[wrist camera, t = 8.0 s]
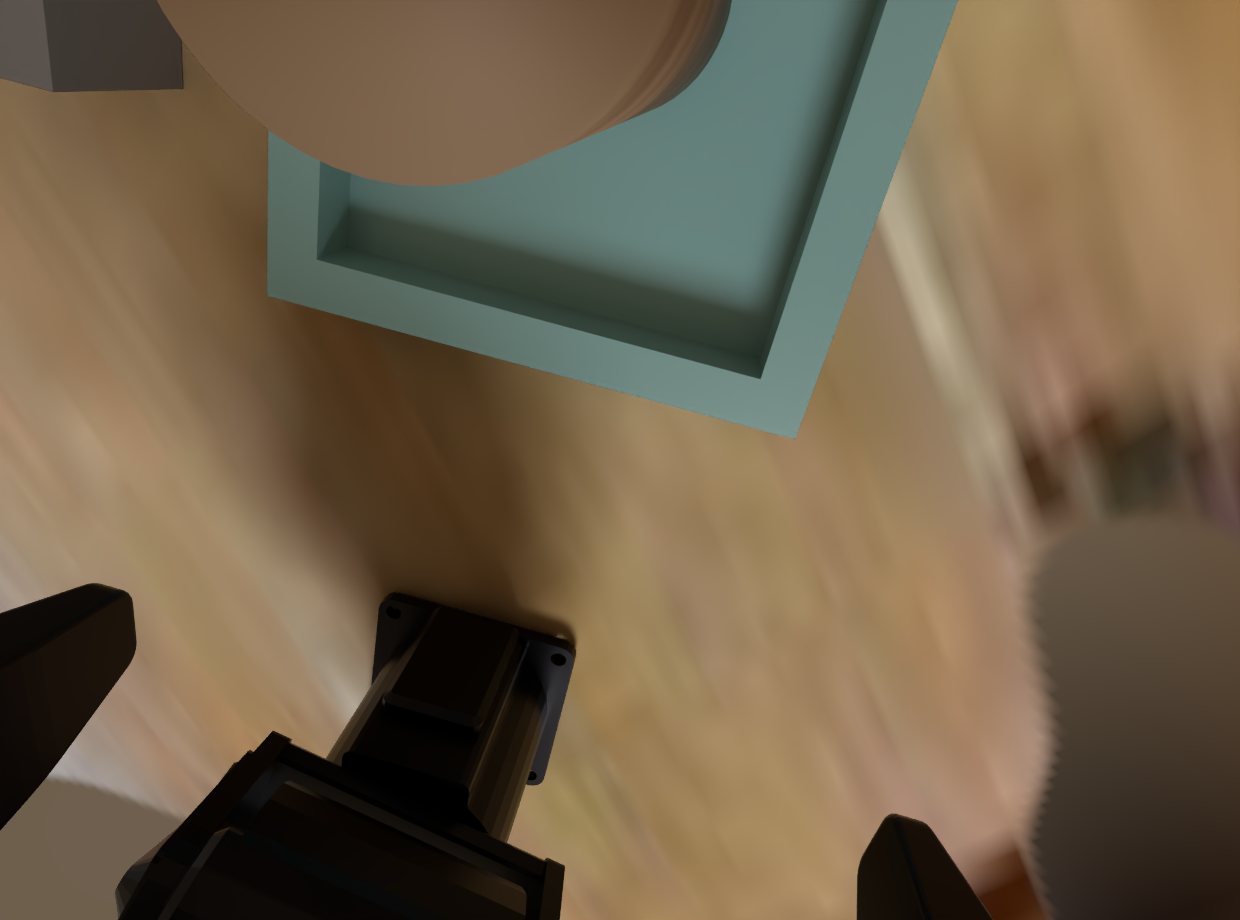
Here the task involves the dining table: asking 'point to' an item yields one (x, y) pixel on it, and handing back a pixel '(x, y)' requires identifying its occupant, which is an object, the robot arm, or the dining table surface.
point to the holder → (89, 45)
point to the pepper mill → (446, 74)
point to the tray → (646, 222)
